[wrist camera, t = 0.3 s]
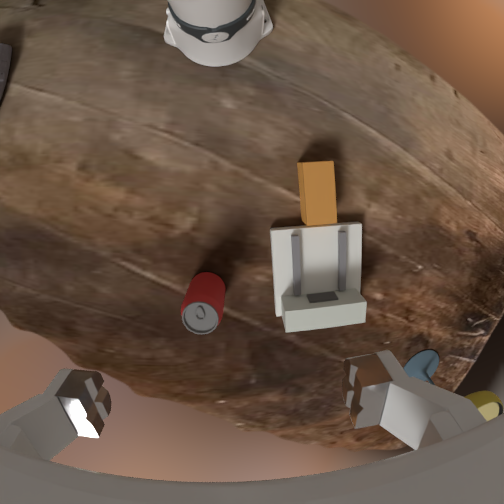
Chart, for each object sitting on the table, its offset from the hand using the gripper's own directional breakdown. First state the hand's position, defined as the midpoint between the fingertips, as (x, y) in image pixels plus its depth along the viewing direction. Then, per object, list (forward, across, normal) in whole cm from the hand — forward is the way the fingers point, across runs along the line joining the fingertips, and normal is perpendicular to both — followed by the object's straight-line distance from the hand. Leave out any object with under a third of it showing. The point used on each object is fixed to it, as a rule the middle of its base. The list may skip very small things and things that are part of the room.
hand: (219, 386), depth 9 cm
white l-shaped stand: (+46, -13, +13) cm, 50 cm away
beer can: (+46, +7, +15) cm, 49 cm away
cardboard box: (+46, -13, -1) cm, 48 cm away
